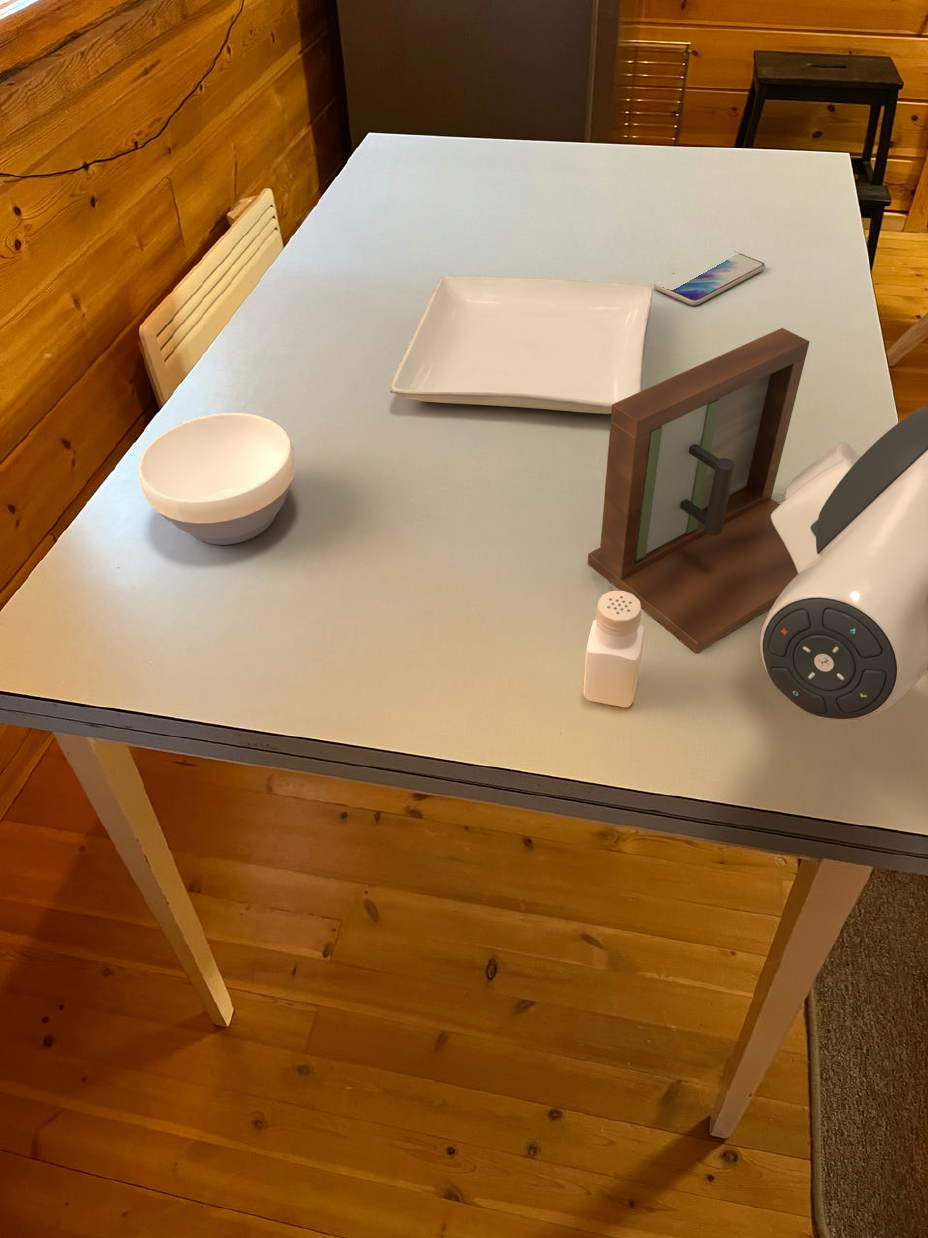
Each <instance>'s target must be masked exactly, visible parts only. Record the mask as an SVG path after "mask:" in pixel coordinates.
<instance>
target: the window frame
mask: <svg viewBox="0 0 928 1238" xmlns="http://www.w3.org/2000/svg"><path fill="white" fill-rule="evenodd" d="M809 347H810V340H808V339H806V338H804V337H802V336H800V335H798V334H796V333H795V332H792V331H790V330H788V329H786V328H784V327H781V328H779V329H776V330H774V331H772V332H770V333H767V334H766V335H762V336H760V337H759V338H756V339H754V340H752V341H749V342H747V343H745V344H743V345H740V346H738V347H736V348H734V349H732V350H730V351H727V352H725V353H722V354H721V355H719V356H716V357H714V358H712V359H709V360H708V361H706V362H703V363H701V364H699V365H696V366H694V367H692V368H690V369H687V370H685V371H682V372H680V373H679V374H677V375H674V376H672V377H669V378H667V379H665V380H663V381H661V382H658V383H656V384H654V385H652V386H650V387H648V388H645V389H643V390H641V392H639V393H636V394H634V395H632V396H630V397H628V398H625V399H623V400H621V401H619V402H616V403H614V404H612V409H611V414H610V423H609V424H610V426H609V436H608V446H607V447H608V450H607V461H606V474H605V485H604V486H605V487H604V496H603V497H604V500H603V508H602V509H603V510H602V522H601V534H600V545H599V547H597V548H596V549H595V550H592V551H591V552H589V553H588V554H587V564H588V565H589V566H590V567H592V569H594V570H595V571H596V572H597V573H599V574H600V575H601V576H602V577H603V578H605V579H606V580H607V581H608V582H610V583H611V584H612V585H613V586H614V587H615V588H617V589H618V591H625V592H628V593H631V594H633V595H634V596H635V597H636V598H637V599H638V600H639V601H640V604H641V610H643V611H644V612H645V613H647V614H648V615H649V616H650V617H651V618H652V619H654V620H656V622H657V623H658V624H659V625H661V626H662V627H664V629H666V630H667V631H669V632H670V633H671V634H672V635H673V636H675V637H676V638H677V639H678V640H679V641H681V642H682V643H683V644H685V646H686V647H687V648H689V649H690V650H691V651H692V652H693V653H695V654H697V653H700V651H702V650H705V648H707V647H708V646H710V645H712V644H714V643H715V642H717V641H719V640H720V639H722V638H723V637H725V636H727V635H729V634H730V633H732V632H733V631H735V630H737V629H738V628H740V627H742V626H743V625H745V624H747V623H748V622H750V621H751V620H753V619H755V618H756V617H758V616H760V615H762V614H763V613H765V612H766V611H768V610H770V609H771V608H772V606H773V604H774V603H775V601H776V600H777V598H778V596H779V595H780V594H781V593H782V591H783V590H784V589H785V587H786V586H787V585H788V584H789V583H790V582H791V581H792V580H793V579H794V578H795V577H796V576H797V575H798V572H797V569H796V567H795V564H794V562H793V560H792V558H791V556H790V554H789V552H788V550H787V549H786V547H785V545H784V543H783V541H782V540H781V538H780V536H779V534H778V532H777V530H776V528H775V527H774V525H773V523H772V520H771V514H772V512H773V511H774V510H775V509H776V508H777V507H778V506H779V505H780V504H781V503H779V502H778V501H776V500H775V499H773V498H772V497H773V494H774V489H775V486H776V485H775V484H776V480H777V477H778V472H779V468H780V464H781V460H782V456H783V453H784V448H785V443H786V439H787V436H788V431H789V427H790V423H791V419H792V416H793V411H794V408H795V403H796V398H797V395H798V390H799V387H800V381H801V378H802V375H803V370H804V366H805V363H806V358H807V354H808V351H809ZM717 399H719V400H720V401H719V406H718V412H717V417H716V423H715V429H714V434H713V440H712V446H711V451H710V453H711V454H712V455H714V456H715V457H717V458H718V459H722V458H727V459H731V460H732V461H734V463H735V469H734V474H733V479H732V484H731V489H730V494H729V498H728V503H727V508H726V513H725V518H724V523H723V528H722V532H721V533H720V534H719V535H715V536H713V535H709V534H707V533H706V532H705V531H704V526H705V525H704V524H702V523H701V522H699V521H698V525H697V529H695V530H693V531H691V532H690V533H684V534H682V535H680V536H678V537H676V538H675V539H673V540H671V541H669V542H667V543H665V544H663V545H662V546H660V547H658V548H656V549H654V550H652V551H650V552H649V553H647V554H646V556H645V557H643V558H641V559H639V560H638V561H635V556H636V547H637V539H638V531H639V522H640V514H641V505H642V497H643V488H644V480H645V472H646V463H647V455H648V446H649V438H650V431H652V430H654V429H656V428H658V427H660V426H662V425H664V424H667V423H669V422H671V421H673V420H675V419H677V418H679V417H681V416H683V415H685V414H688V413H690V412H692V411H694V410H696V409H698V408H700V407H702V406H704V405H707V404H709V403H711V402H713V401H715V400H717ZM714 471H715V470H714V469H712V468H711V467H709V466H708V468H707V474H706V480H705V485H704V491H703V497H702V502H701V508H700V509H702V510H703V511H705V512H706V513H707V509H708V504H709V499H710V493H711V488H712V482H713V477H714Z"/></svg>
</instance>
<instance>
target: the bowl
mask: <svg viewBox="0 0 928 1238" xmlns="http://www.w3.org/2000/svg"><path fill="white" fill-rule="evenodd" d="M295 473H296V458H295V451H294V446H293V444H292V440H291V438H290V437H289V434H288V433H287V432H286V430H285V429H284V428H283V427H282V426H280V425H279V424H278V423H276V422H274V421H273V420H271V419H268V418H265V417H263V416H260V415H255V414H251V413H243V412H221V413H213V414H207V415H203V416H200V417H195V418H191V419H190V420H186V421H183V422H180V423H179V424H176V425H174V426H172V427H170V428H168V429H167V430H165V431H164V432H162V433H160V434H159V435H157V436H156V438H154V439H153V440H152V441H151V442H150V443H149V444H148V445H147V446H146V448H145V449H144V451H143V452H142V453H141V456H140V457H139V460H138V462H137V476H138V479H139V484H140V488H141V490H142V493H143V495H144V496H145V499H146V501H147V502H148V504H149V505H150V506H151V508H152V509H154V510H155V511H156V512H157V513H158V514H159V515H161V516H162V517H163V518H164V519H165V520H166V521H168V522H169V523H172V524H173V526H175V527H176V528H178V529H179V530H180V531H183V532H185V533H187V534H189V535H192V536H193V537H194V538H195V539H197V540H199V541H200V542H203V543H207V544H210V545H220V546H221V545H234V544H240V543H242V542H246V541H248V540H251V539H253V538H255V537H257V536H259V535H260V534H262V533H263V532H264V531H265V530H267V529H268V528H269V527H270V526H271V524H273V521H274V520H275V518H276V516H277V514H278V512H279V511H280V509H281V508H282V507H283V505H284V503H285V501H286V499H287V495H288V493H289V491H290V489H291V486H292V483H293V480H294V478H295Z"/></svg>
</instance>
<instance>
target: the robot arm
mask: <svg viewBox="0 0 928 1238" xmlns="http://www.w3.org/2000/svg"><path fill="white" fill-rule="evenodd" d="M784 497H785V498H784V500H783V502H781V503H779V504H780V505H779V506H778V507H777V508H776V509H775V510H774V511H773V512H772V514H771V520H772V523H773V525H774V527H775V528H776V530H777V532H778V534H779V536H780V538H781V540H782V541H783V543H784V545H785V547H786V549H787V550H788V552H789V554H790V556H791V558H792V560H793V562H794V564H795V567H796V569H797V572H798V575H797V576H796V577H795V578H794V579H793V580H792V581H791V582H790V583H789V584H788V585H787V586H786V587H785V589H784V590H783V591H782V593H781V594H780V595H779V596H778V598H777V600H776V601H775V603H774V604H773V606H772V607H771V608H770V609H769V611H768V613H767V615H766V617H765V619H764V622H763V624H762V628H761V631H760V638H759V639H760V640H759V649H760V650H759V651H760V656H761V659H762V660H761V661H762V663H763V666H764V669H765V671H766V674H767V676H768V678H769V680H770V682H771V683H772V684H773V685H774V687H775V688H776V689H777V690H778V691H779V692H780V693H781V694H782V695H783V696H784V698H786V699H787V700H788V701H789V702H791V703H792V704H793V705H795V706H796V707H798V708H799V709H801V710H802V711H804V712H806V713H808V714H810V715H812V716H814V717H818V718H820V719H825V720H830V721H839V722H854V721H860V720H865V719H868V718H871V717H874V716H875V715H877V714H879V713H882V712H884V711H885V710H886V709H888V708H889V707H891V706H893V705H895V703H896V702H898V701H899V700H900V699H902V697H904V696H905V695H906V694H907V693H908V692H910V690H912V689H913V687H914V686H915V685H916V684H918V682H919V681H920V680H921V679H922V677H923V676H924V675H925V674H926V672H928V405H926V406H922V407H920V408H918V409H916V410H915V411H913V412H911V413H910V414H908V415H907V416H905V417H904V418H903V419H902V420H900V421H899V422H897V423H896V424H895V425H894V426H893V427H892V428H889V430H888V431H886V433H884V434H883V435H882V436H880V437H879V438H878V439H877V440H876V441H875V442H874V443H873V444H872V445H871V446H870V447H869V448H868V449H867V450H866V451H865V452H864V453H863V454H862V455H861V456H860V455H859V454H858V452H857V451H856V449H855V448H853V447H852V445H850V444H849V443H847V442H846V441H841V442H839V443H837V444H836V445H835V446H833V447H832V448H831V449H828V451H826V452H825V453H824V454H822V455H821V456H820V457H818V458H817V459H816V460H815V461H813V462H812V463H811V464H809V465H808V466H806V467H805V469H803V470H802V471H800V472H799V473H798V474H797V475H796V476H795V477H794V478H793V479H792V481H791V482H790V483H789V485H788V486H787V487H786V490H785V496H784Z"/></svg>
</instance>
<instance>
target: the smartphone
mask: <svg viewBox="0 0 928 1238" xmlns="http://www.w3.org/2000/svg"><path fill="white" fill-rule="evenodd" d="M734 251H735V252H737V253H739V254H737V255H735V256H733V257H732V258H730V259H728V260H726V261H725V262H723V263H721V264H719V265H717V266H716V267H714V268H712V269H710V270H708V271H707V272H705V273H703V274H701V275H699V276H698V277H696V278H694V279H692V280H690V281H689V282H687V283H685V284H683V285H681V286H680V287H678V288H676V289H674V290H669V289H665V288H664V287H660V286H658V285H656V284H655V282H654V283H653V288H654V289H655V290H656V291H657V292H660V293H662V294H664V295H667V296H670V297H672V298H674V299H676V300H678V301H681V302H683V303H685V304H687V305H690V306H698V305H699V304H701V303H704V302H705V301H707V300H709V299H712V298H713V297H715V296H717V295H719V294H720V293H722V292H724V291H726V290H728V289H730V288H733V287H734V286H736V285H738V284H740V283H742V282H743V281H746V280H748V279H749V278H751V277H753V276H755V275H756V274H759V273H760V272H762V271H764V270H765V269H766V264H765V262H763V261H761V260H758V259H756V258H753V257H750V256H748V255H746V254H744V253H741V252H738V251H736V250H734Z"/></svg>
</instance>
